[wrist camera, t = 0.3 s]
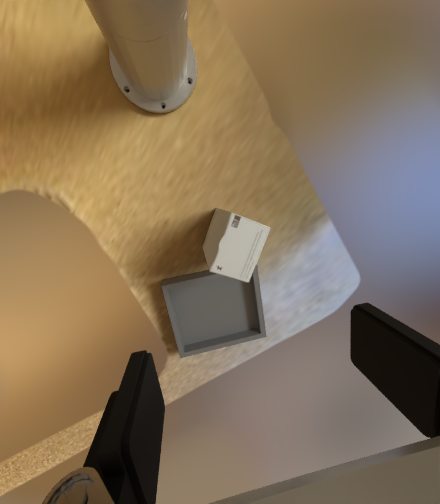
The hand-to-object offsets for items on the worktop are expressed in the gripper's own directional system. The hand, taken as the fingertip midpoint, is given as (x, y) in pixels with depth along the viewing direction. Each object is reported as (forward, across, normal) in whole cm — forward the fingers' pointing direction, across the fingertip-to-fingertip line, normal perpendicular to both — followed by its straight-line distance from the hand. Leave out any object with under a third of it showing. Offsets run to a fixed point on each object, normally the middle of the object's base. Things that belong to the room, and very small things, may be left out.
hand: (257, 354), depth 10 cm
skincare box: (+34, -4, 0) cm, 34 cm away
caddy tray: (+34, 0, +15) cm, 37 cm away
